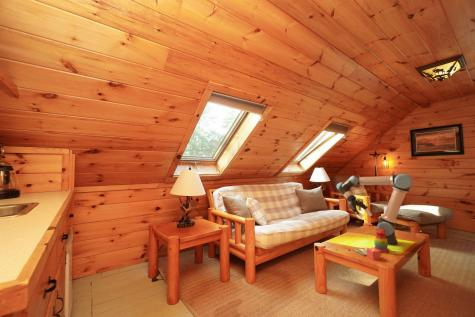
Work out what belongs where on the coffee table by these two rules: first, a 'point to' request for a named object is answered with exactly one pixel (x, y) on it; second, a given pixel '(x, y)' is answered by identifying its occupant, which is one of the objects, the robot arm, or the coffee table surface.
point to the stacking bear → (381, 241)
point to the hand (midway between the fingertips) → (366, 216)
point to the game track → (362, 251)
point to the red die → (373, 254)
